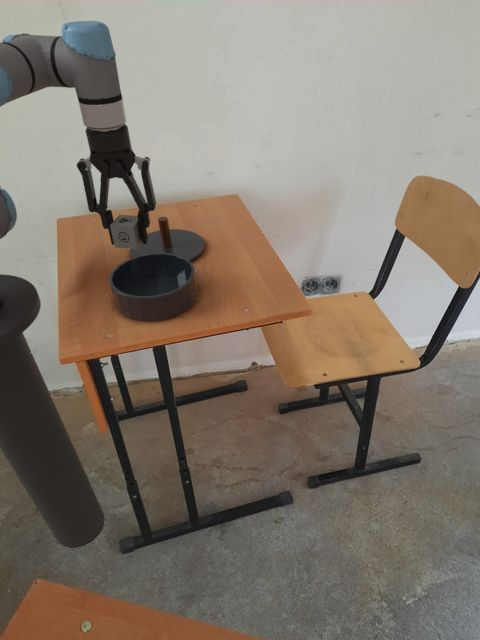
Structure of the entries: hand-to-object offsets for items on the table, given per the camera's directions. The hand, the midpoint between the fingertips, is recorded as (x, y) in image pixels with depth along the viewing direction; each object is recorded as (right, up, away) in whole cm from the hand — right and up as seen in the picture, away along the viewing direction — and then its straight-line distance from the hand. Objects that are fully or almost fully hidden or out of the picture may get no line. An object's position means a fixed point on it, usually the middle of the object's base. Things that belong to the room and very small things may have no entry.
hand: (130, 241), depth 101 cm
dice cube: (0, 0, 0) cm, 1 cm away
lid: (+2, +5, +30) cm, 30 cm away
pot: (+3, -11, +12) cm, 17 cm away
